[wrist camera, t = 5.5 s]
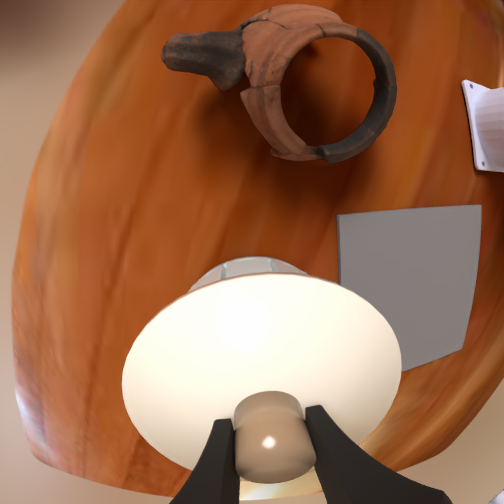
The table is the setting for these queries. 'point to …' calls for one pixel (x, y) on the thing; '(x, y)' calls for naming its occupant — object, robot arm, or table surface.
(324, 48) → the table surface
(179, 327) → the lid
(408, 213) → the mat
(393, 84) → the dark brown rounded loops
